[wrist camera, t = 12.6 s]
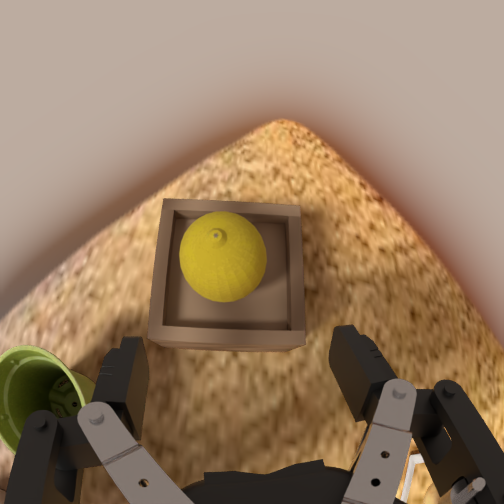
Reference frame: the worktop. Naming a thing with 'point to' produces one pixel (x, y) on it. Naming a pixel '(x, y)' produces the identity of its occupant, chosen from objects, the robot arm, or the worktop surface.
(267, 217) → the wooden box
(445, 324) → the worktop surface
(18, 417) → the plant pot
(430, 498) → the white square frame
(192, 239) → the lemon
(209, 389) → the worktop surface
